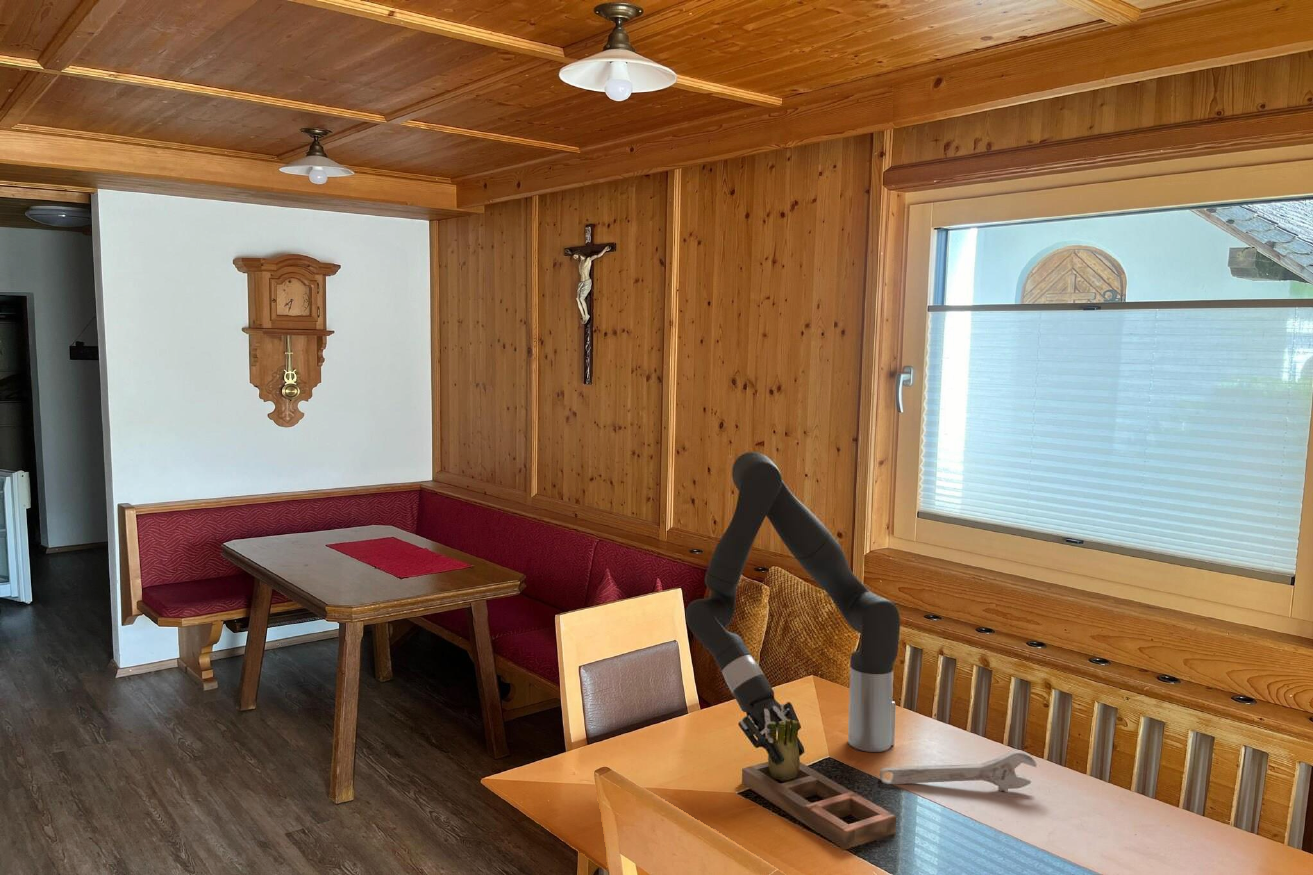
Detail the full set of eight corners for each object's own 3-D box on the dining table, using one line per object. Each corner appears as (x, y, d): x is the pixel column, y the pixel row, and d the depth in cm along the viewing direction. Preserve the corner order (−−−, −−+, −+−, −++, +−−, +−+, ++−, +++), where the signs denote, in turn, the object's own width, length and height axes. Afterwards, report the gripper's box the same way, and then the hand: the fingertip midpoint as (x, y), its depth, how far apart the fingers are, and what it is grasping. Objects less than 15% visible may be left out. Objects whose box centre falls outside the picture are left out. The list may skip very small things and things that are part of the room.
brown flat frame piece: (789, 770, 195) (789, 754, 194) (895, 833, 169) (896, 815, 169) (741, 782, 189) (742, 766, 188) (844, 850, 163) (845, 831, 163)
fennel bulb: (766, 781, 186) (767, 722, 185) (772, 771, 190) (773, 713, 189) (795, 786, 184) (797, 726, 183) (800, 776, 188) (802, 717, 187)
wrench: (881, 793, 191) (1036, 788, 187) (882, 797, 189) (1039, 792, 185) (877, 755, 191) (1033, 749, 186) (878, 758, 189) (1035, 752, 184)
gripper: (732, 681, 186) (776, 760, 178) (781, 666, 196) (825, 740, 188) (713, 700, 191) (755, 777, 183) (762, 684, 200) (804, 757, 192)
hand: (790, 758), depth 185 cm, fingers closed on fennel bulb, 5 cm apart
